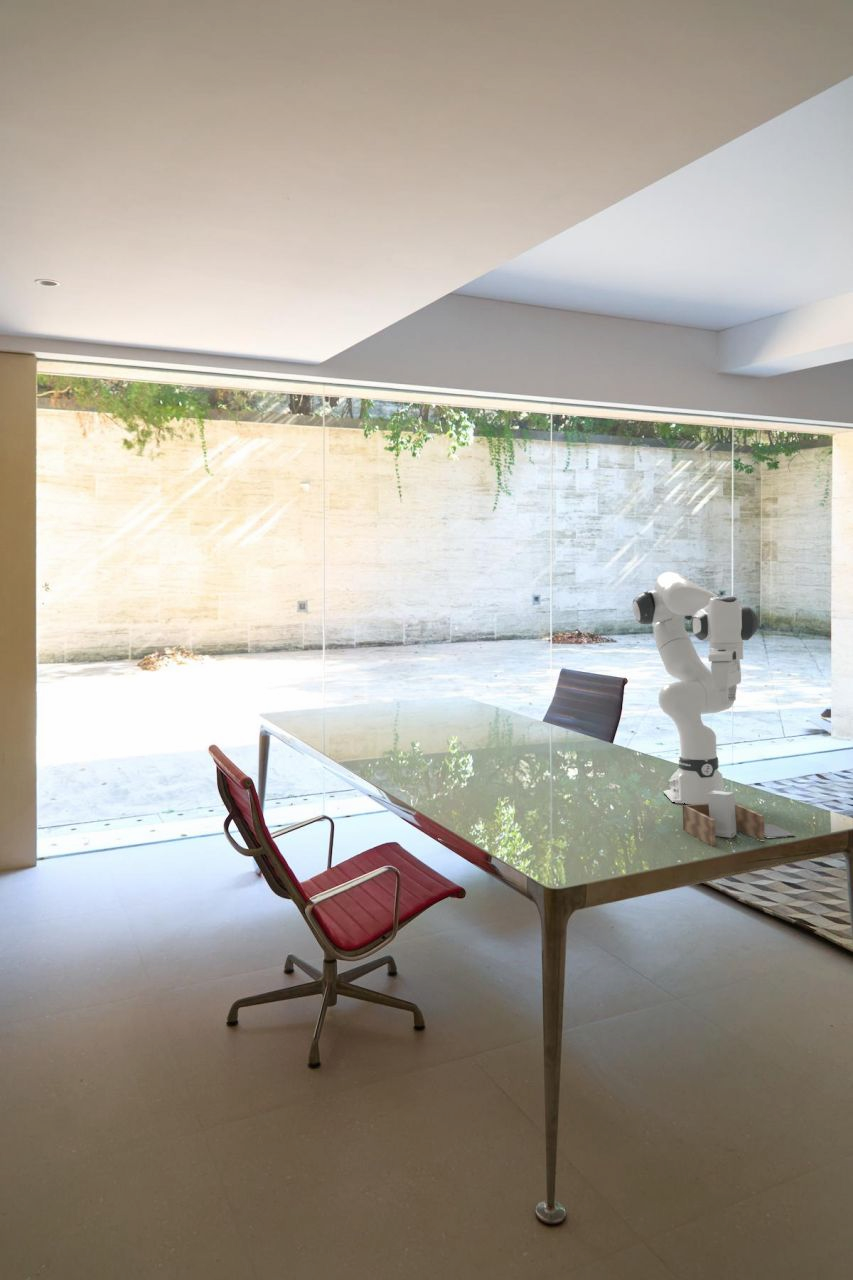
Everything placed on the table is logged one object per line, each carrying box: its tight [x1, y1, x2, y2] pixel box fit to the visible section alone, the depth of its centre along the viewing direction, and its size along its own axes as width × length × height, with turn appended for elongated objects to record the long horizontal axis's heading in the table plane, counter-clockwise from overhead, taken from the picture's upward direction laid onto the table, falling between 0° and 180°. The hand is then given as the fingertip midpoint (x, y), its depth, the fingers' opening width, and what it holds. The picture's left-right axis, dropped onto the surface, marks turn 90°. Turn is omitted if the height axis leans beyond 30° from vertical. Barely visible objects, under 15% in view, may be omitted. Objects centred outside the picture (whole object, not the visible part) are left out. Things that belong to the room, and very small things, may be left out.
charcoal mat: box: [764, 824, 796, 838], centre depth 258 cm, size 12×8×1 cm, turn 9°
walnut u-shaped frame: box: [682, 802, 766, 847], centre depth 257 cm, size 18×15×7 cm
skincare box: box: [708, 790, 738, 839], centre depth 257 cm, size 6×4×12 cm
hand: (728, 702), depth 261 cm, fingers open, 8 cm apart
